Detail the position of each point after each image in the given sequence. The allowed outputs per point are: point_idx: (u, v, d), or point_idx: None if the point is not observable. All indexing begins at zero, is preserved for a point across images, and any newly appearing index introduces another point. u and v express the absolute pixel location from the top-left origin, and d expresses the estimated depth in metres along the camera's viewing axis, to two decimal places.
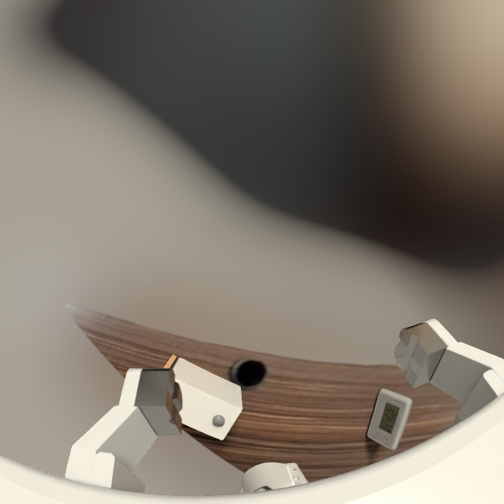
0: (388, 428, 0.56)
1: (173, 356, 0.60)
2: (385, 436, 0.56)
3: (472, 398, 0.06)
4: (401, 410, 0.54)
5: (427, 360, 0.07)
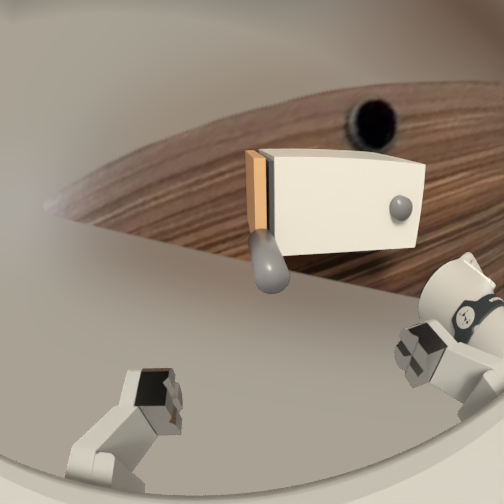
0: None
1: (248, 150, 0.32)
2: None
3: (472, 398, 0.06)
4: None
5: (427, 360, 0.07)
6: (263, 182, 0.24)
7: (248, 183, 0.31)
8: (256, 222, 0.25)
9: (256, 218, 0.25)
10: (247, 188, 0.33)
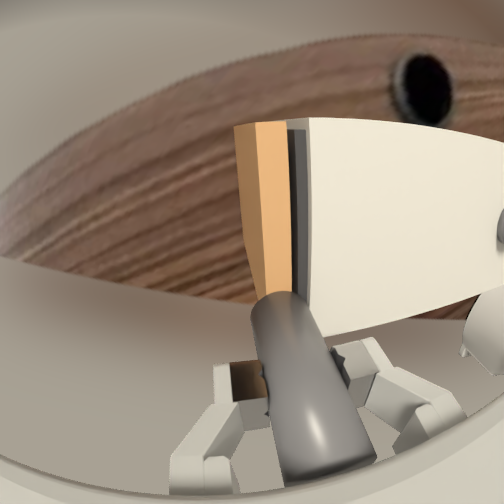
0: None
1: None
2: None
3: (405, 433, 0.06)
4: None
5: (352, 385, 0.07)
6: (283, 184, 0.09)
7: (242, 183, 0.16)
8: (268, 279, 0.11)
9: (268, 271, 0.11)
10: (241, 192, 0.19)
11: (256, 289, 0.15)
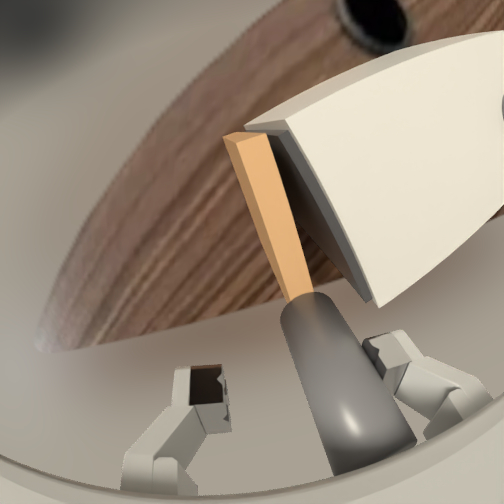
0: None
1: (228, 135, 0.18)
2: None
3: (437, 418, 0.06)
4: None
5: (387, 374, 0.07)
6: (279, 195, 0.09)
7: (245, 192, 0.17)
8: (288, 286, 0.11)
9: (286, 278, 0.11)
10: (246, 199, 0.19)
11: None
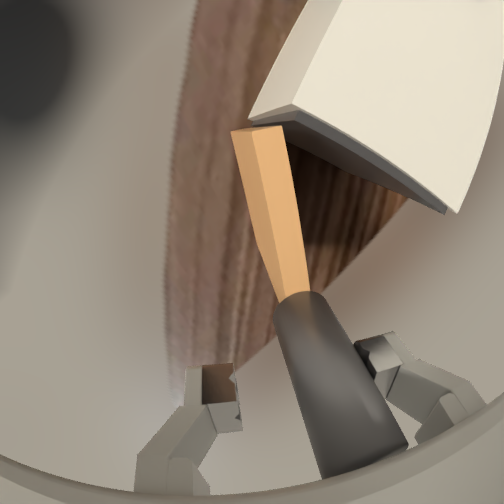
0: None
1: (236, 130, 0.18)
2: None
3: (428, 422, 0.06)
4: None
5: (377, 378, 0.07)
6: (287, 188, 0.09)
7: (248, 188, 0.16)
8: (285, 282, 0.11)
9: (284, 274, 0.11)
10: (247, 195, 0.19)
11: (275, 291, 0.16)
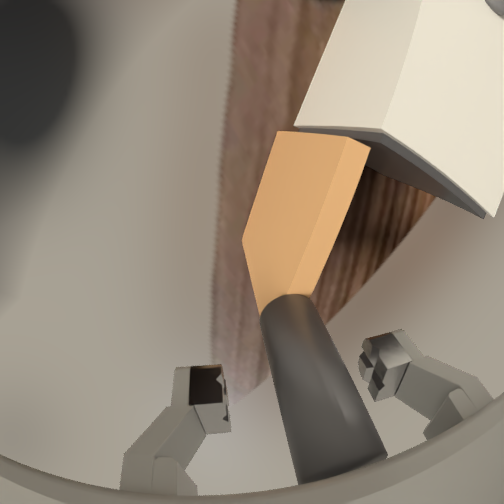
0: None
1: None
2: None
3: (437, 418, 0.06)
4: None
5: (387, 374, 0.07)
6: (346, 199, 0.10)
7: (274, 185, 0.17)
8: (295, 280, 0.11)
9: (299, 272, 0.11)
10: (263, 193, 0.19)
11: (256, 288, 0.15)
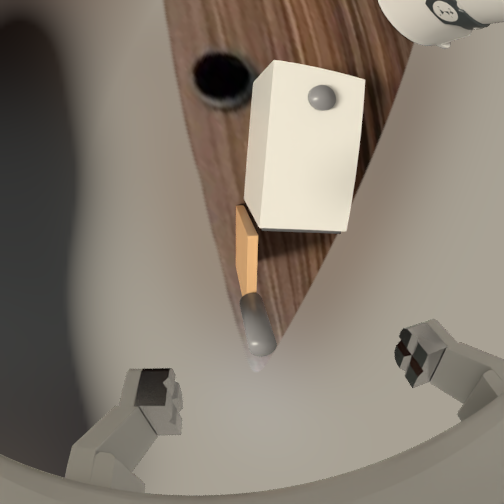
0: None
1: (239, 207, 0.36)
2: None
3: (472, 398, 0.06)
4: None
5: (427, 360, 0.07)
6: (255, 256, 0.28)
7: (239, 241, 0.35)
8: (247, 288, 0.29)
9: (247, 284, 0.29)
10: (237, 242, 0.37)
11: (242, 292, 0.34)
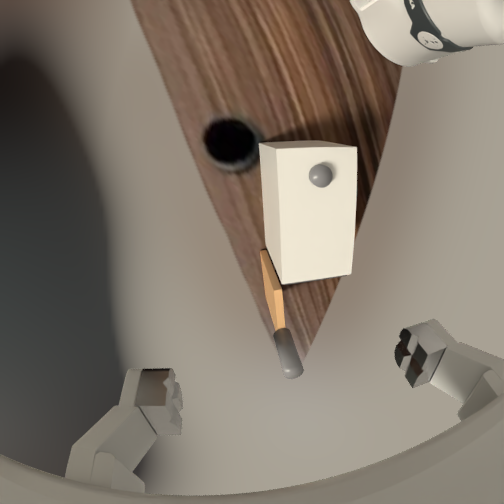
0: None
1: (263, 253, 0.44)
2: None
3: (472, 398, 0.06)
4: None
5: (427, 360, 0.07)
6: (281, 303, 0.35)
7: (266, 283, 0.42)
8: (278, 325, 0.37)
9: (278, 323, 0.36)
10: (265, 282, 0.45)
11: None
